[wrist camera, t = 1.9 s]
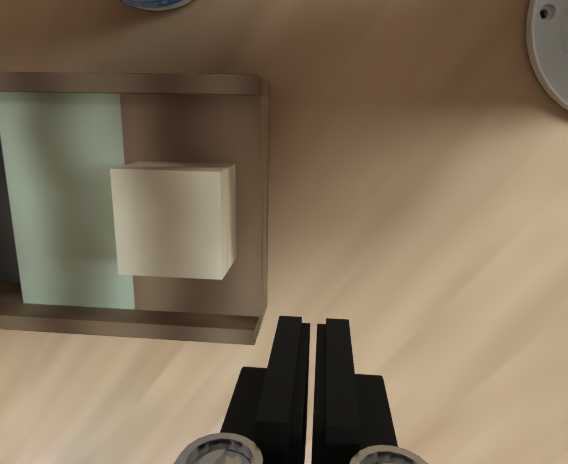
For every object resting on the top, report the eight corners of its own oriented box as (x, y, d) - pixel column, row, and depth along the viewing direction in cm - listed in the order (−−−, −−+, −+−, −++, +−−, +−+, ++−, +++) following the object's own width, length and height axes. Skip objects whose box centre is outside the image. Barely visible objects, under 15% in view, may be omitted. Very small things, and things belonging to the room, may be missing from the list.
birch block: (235, 163, 27) (220, 171, 24) (236, 257, 29) (222, 279, 25) (139, 161, 28) (109, 168, 24) (145, 253, 30) (118, 274, 26)
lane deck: (268, 82, 30) (254, 74, 24) (266, 306, 34) (254, 345, 28) (-80, 78, 32) (-170, 70, 26) (-43, 288, 36) (-114, 321, 30)
